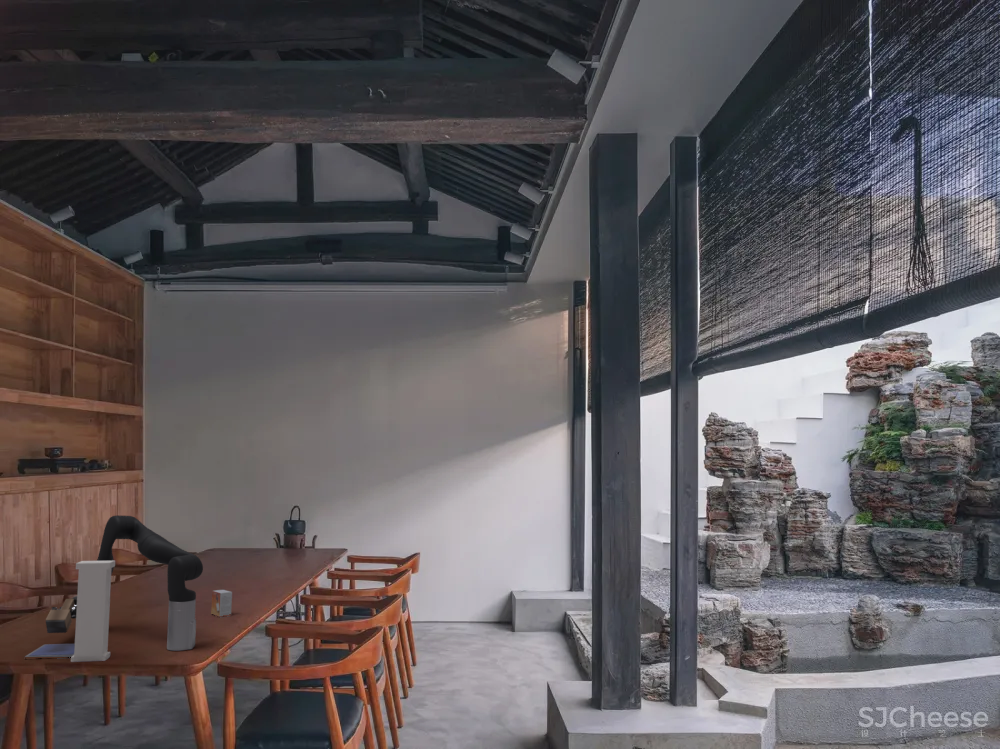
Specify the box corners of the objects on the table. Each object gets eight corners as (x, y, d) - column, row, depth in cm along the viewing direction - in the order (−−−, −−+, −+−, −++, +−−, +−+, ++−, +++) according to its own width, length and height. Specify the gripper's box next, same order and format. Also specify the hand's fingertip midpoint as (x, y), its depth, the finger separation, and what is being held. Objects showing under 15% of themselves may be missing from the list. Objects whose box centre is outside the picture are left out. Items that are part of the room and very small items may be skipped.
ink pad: (90, 645, 305) (91, 642, 306) (74, 657, 288) (74, 654, 288) (44, 647, 303) (44, 644, 303) (24, 659, 285) (24, 656, 285)
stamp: (79, 604, 307) (78, 592, 305) (66, 633, 294) (64, 620, 291) (61, 604, 306) (59, 592, 304) (47, 633, 293) (44, 621, 290)
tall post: (110, 656, 291) (115, 560, 294) (105, 660, 284) (109, 562, 287) (77, 657, 289) (82, 560, 292) (70, 661, 282) (75, 563, 285)
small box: (210, 615, 364) (211, 590, 365) (222, 613, 368) (223, 589, 369) (219, 617, 358) (220, 592, 359) (231, 616, 362) (232, 591, 363)
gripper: (58, 596, 314) (41, 605, 297) (97, 595, 316) (83, 604, 299) (57, 616, 313) (40, 626, 296) (96, 615, 315) (81, 625, 298)
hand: (61, 615), depth 298 cm, fingers closed on stamp, 2 cm apart
